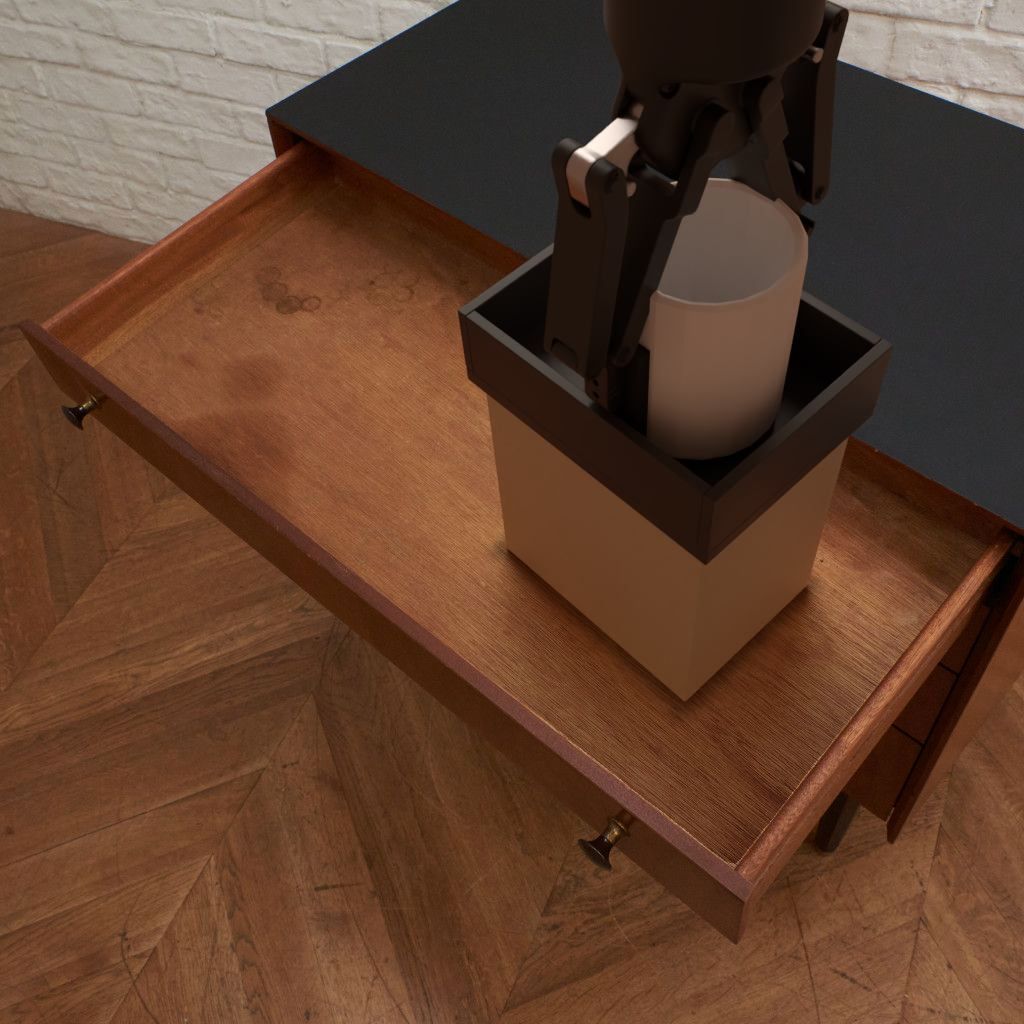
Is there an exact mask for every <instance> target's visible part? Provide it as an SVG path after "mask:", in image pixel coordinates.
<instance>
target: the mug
mask: <svg viewBox="0 0 1024 1024" xmlns="http://www.w3.org/2000/svg"><path fill="white" fill-rule="evenodd" d="M670 183H671V184H673V185H674V186H676V184H677V181H671V182H670ZM808 259H809V239H808V236H807V233H806V231H805V229H804V227H803V225H802V223H801V221H800V218H799V216H798V215H797V214H795V213H794V212H793V211H792V210H791V209H790V208H789V207H788V206H787V205H786V204H785V203H784V202H783V201H782V200H781V199H779V198H777V199H776V200H775V202H773V201H772V200H770V199H768V198H767V197H765V196H763V195H761V194H760V193H758V192H756V191H755V190H753V189H751V188H750V187H749V186H747V185H745V184H743V183H742V182H738V181H734V180H732V179H731V178H718V177H717V178H715V177H709V179H708V181H707V184H706V187H705V190H704V193H703V195H702V198H701V201H700V204H699V207H698V209H697V210H696V212H695V213H693V214H692V215H687V216H684V217H683V219H682V221H681V223H680V226H679V229H678V232H677V235H676V238H675V241H674V243H673V246H672V249H671V252H670V255H669V258H668V260H667V263H666V266H665V269H664V272H663V275H662V278H661V280H660V283H659V286H658V289H657V291H655V292H654V293H653V294H652V296H651V298H650V312H649V314H648V317H647V320H646V323H645V326H644V329H643V332H642V334H641V337H640V340H639V344H641V345H642V346H644V347H645V348H646V349H648V350H649V351H650V364H649V388H648V411H647V435H646V438H647V439H648V440H650V441H651V442H652V443H654V444H655V445H656V446H658V447H659V448H660V449H662V450H663V451H664V452H666V453H667V454H668V455H670V456H671V457H673V458H679V459H692V460H707V459H713V458H719V457H725V456H730V455H732V454H734V453H736V452H738V451H740V450H742V449H745V448H747V447H749V446H751V445H752V444H754V443H755V442H756V441H757V440H758V439H759V438H760V437H761V436H762V435H763V434H764V433H765V432H766V431H767V430H768V429H770V428H771V426H772V423H773V421H774V419H775V417H776V415H777V413H778V411H779V409H780V404H781V399H782V393H783V388H784V383H785V377H786V372H787V367H788V361H789V356H790V351H791V345H792V340H793V335H794V329H795V324H796V319H797V313H798V308H799V303H800V297H801V292H802V290H803V287H804V281H805V275H806V270H807V266H808Z"/></svg>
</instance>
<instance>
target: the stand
mask: <svg viewBox="0 0 1024 1024" xmlns="http://www.w3.org/2000/svg"><path fill="white" fill-rule="evenodd" d="M485 394H486V393H485ZM486 402H487V410H488V416H489V417H488V418H489V424H490V431H491V438H492V439H491V440H492V447H493V455H494V462H495V463H494V464H495V470H496V476H497V477H496V478H497V485H498V494H499V499H500V505H501V506H500V507H501V514H502V522H503V531H504V537H505V546H506V549H507V550H509V551H510V552H511V553H512V554H513V555H514V556H515V557H517V558H518V559H519V560H520V561H521V562H523V563H524V564H525V565H526V566H527V567H528V568H529V569H530V570H532V571H533V572H534V573H535V574H536V575H538V577H540V578H541V579H542V580H543V581H544V582H545V583H547V584H548V585H549V586H550V587H551V588H552V589H553V590H555V592H557V593H558V594H559V595H560V596H561V597H563V598H564V599H565V600H566V601H568V603H569V604H571V605H572V606H573V607H575V608H576V609H577V610H578V611H579V612H580V613H582V615H584V616H585V617H586V618H587V619H588V620H589V621H591V622H592V623H593V624H594V625H595V626H597V628H598V629H600V630H601V631H602V632H603V633H605V635H607V636H608V637H609V638H610V639H611V640H612V641H614V642H615V643H616V644H617V645H618V646H620V647H621V648H622V649H623V650H624V651H625V652H626V653H628V654H629V655H630V656H631V657H632V659H635V661H636V662H638V663H639V664H640V665H641V666H643V667H644V668H645V669H646V670H647V671H648V672H650V673H651V674H652V676H654V677H655V678H656V679H657V680H659V681H660V682H661V683H662V684H663V685H665V687H667V688H668V689H669V690H670V691H671V692H672V693H674V694H675V695H676V696H677V697H678V698H679V699H680V700H682V701H683V702H684V703H685V702H687V701H688V700H690V698H691V697H692V696H693V695H694V694H695V693H696V692H697V691H699V689H700V688H702V687H703V686H704V685H705V684H706V683H707V682H708V681H709V680H710V679H711V678H712V677H713V676H714V675H715V674H716V673H717V672H718V671H719V670H720V669H721V668H722V667H723V666H725V665H726V663H728V662H729V661H730V660H731V659H732V658H733V657H734V656H735V655H736V654H737V653H738V652H739V651H741V650H742V648H743V647H744V646H746V645H747V644H748V643H749V642H750V641H751V640H752V639H753V638H754V637H756V635H757V634H758V633H759V632H760V631H761V630H762V629H763V628H764V627H765V626H767V625H768V624H769V622H771V621H772V620H773V619H774V618H775V617H776V616H777V615H778V614H779V613H780V612H781V611H782V610H783V609H784V608H785V607H786V606H788V604H790V603H791V602H792V601H793V600H794V599H795V598H796V597H797V596H798V595H799V594H800V593H801V592H802V591H803V590H804V589H806V587H807V586H808V585H809V582H810V578H811V574H812V571H813V568H814V563H815V559H816V556H817V554H818V550H819V546H820V542H821V538H822V535H823V532H824V527H825V525H826V520H827V517H828V514H829V510H830V506H831V504H832V503H831V502H832V499H833V495H834V492H835V488H836V484H837V480H838V477H839V474H840V470H841V467H842V463H843V459H844V455H845V452H846V449H847V445H848V441H849V438H850V436H849V437H848V438H847V439H845V440H844V441H843V442H842V443H841V444H840V445H839V446H838V447H837V448H836V449H834V450H833V451H832V452H831V453H830V454H829V455H828V456H827V457H826V458H824V459H823V460H822V461H821V462H820V463H819V464H818V465H817V466H816V467H814V468H813V469H812V470H811V471H810V472H809V473H808V474H807V475H806V476H805V477H803V478H802V479H801V480H800V481H799V482H798V483H797V484H796V485H795V486H793V487H792V488H791V489H790V490H789V491H788V492H787V493H786V494H785V495H783V496H782V497H781V498H780V499H779V500H778V501H777V502H776V503H775V504H773V505H772V506H771V507H770V508H769V509H768V510H767V511H766V512H765V513H764V514H762V515H761V516H760V517H759V518H758V519H757V520H756V521H755V522H754V523H752V524H751V525H750V526H749V527H748V528H747V529H746V530H745V531H744V532H742V533H741V534H740V535H739V536H738V537H737V538H736V539H735V540H734V541H733V542H731V543H730V544H729V545H728V546H727V547H726V548H725V549H724V550H723V551H721V552H720V553H719V554H718V555H717V556H716V557H715V558H714V559H713V560H711V561H710V562H709V563H708V564H707V565H704V564H703V563H701V562H700V561H699V560H698V559H696V558H695V557H694V556H693V555H691V554H690V553H689V552H687V551H686V550H685V549H684V548H682V547H681V546H680V545H679V544H677V543H676V542H675V541H673V540H672V539H671V538H670V537H668V536H667V535H666V534H665V533H663V532H662V531H661V530H659V529H658V528H657V527H656V526H654V525H653V524H652V523H651V522H649V521H648V520H647V519H645V518H644V517H643V516H642V515H640V514H639V513H638V512H637V511H635V510H634V509H633V508H631V507H630V506H629V505H628V504H626V503H625V502H624V501H623V500H621V499H620V498H619V497H617V496H616V495H615V494H614V493H612V492H611V491H610V490H609V489H607V488H606V487H605V486H603V485H602V484H601V483H600V482H598V481H597V480H596V479H595V478H593V477H592V476H591V475H589V474H588V473H587V472H586V471H584V470H583V469H582V468H581V467H579V466H578V465H577V464H575V463H574V462H573V461H572V460H570V459H569V458H568V457H567V456H565V455H564V454H563V453H561V452H560V451H559V450H558V449H556V448H555V447H554V446H553V445H551V444H550V443H549V442H548V441H546V440H545V439H544V438H542V437H541V436H540V435H539V434H537V433H536V432H535V431H534V430H532V429H531V428H530V427H528V426H527V425H526V424H525V423H523V422H522V421H521V420H520V419H518V418H517V417H516V416H514V415H513V414H512V413H511V412H509V411H508V410H507V409H506V408H504V407H503V406H502V405H500V404H499V403H498V402H497V401H495V400H494V399H493V398H492V397H490V396H489V395H488V394H486Z"/></svg>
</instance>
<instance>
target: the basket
mask: <svg viewBox="0 0 1024 1024" xmlns="http://www.w3.org/2000/svg"><path fill="white" fill-rule="evenodd" d="M553 248H554V242H552V243H551V244H549V245H548V246H547V247H546V248H544V249H542V250H540V251H539V252H538V253H537V254H535V255H534V256H533V257H531V258H530V259H528V260H527V261H525V262H524V263H523V264H521V265H519V266H518V267H517V268H516V269H514V270H512V271H511V272H510V273H508V274H506V275H505V276H504V277H503V278H501V279H500V280H498V281H497V282H496V283H494V284H493V285H491V286H490V287H488V288H487V289H486V290H484V291H483V292H481V293H480V294H478V295H477V296H476V297H474V298H473V299H471V300H470V301H469V302H468V303H466V304H465V305H463V306H462V307H460V308H459V309H458V310H457V316H458V323H459V330H460V336H461V342H462V350H463V356H464V363H465V366H466V377H467V380H468V381H470V382H471V383H473V385H475V386H476V387H477V388H479V389H480V390H481V391H483V392H484V393H485V394H488V395H489V396H490V397H492V398H493V399H494V400H495V401H497V402H498V403H499V404H500V405H502V406H503V407H504V408H506V409H507V410H508V411H509V412H511V413H512V414H513V415H514V416H516V417H517V418H518V419H520V420H521V421H522V422H523V423H525V424H526V425H527V426H528V427H530V428H531V429H532V430H534V431H535V432H536V433H537V434H539V435H540V436H541V437H542V438H544V439H545V440H546V441H548V442H549V443H550V444H551V445H553V446H554V447H555V448H556V449H558V450H559V451H560V452H561V453H563V454H564V455H565V456H567V457H568V458H569V459H570V460H572V461H573V462H574V463H575V464H577V465H578V466H579V467H581V468H582V469H583V470H584V471H586V472H587V473H588V474H589V475H591V476H592V477H593V478H595V479H596V480H597V481H598V482H600V483H601V484H602V485H603V486H605V487H606V488H607V489H609V490H610V491H611V492H612V493H614V494H615V495H616V496H617V497H619V498H620V499H621V500H623V501H624V502H625V503H626V504H628V505H629V506H630V507H631V508H633V509H634V510H635V511H637V512H638V513H639V514H640V515H642V516H643V517H644V518H645V519H647V520H648V521H649V522H651V523H652V524H653V525H654V526H656V527H657V528H658V529H659V530H661V531H662V532H663V533H665V534H666V535H667V536H668V537H670V538H671V539H672V540H673V541H675V542H676V543H677V544H679V545H680V546H681V547H682V548H684V549H685V550H686V551H687V552H689V553H690V554H691V555H693V556H694V557H695V558H696V559H698V560H699V561H700V562H701V563H703V564H704V565H707V564H708V563H709V562H710V561H711V560H713V559H714V558H715V557H716V556H717V555H718V554H719V553H720V552H721V551H723V550H724V549H725V548H726V547H727V546H728V545H729V544H730V543H731V542H733V541H734V540H735V539H736V538H737V537H738V536H739V535H740V534H741V533H742V532H744V531H745V530H746V529H747V528H748V527H749V526H750V525H751V524H752V523H754V522H755V521H756V520H757V519H758V518H759V517H760V516H761V515H762V514H764V513H765V512H766V511H767V510H768V509H769V508H770V507H771V506H772V505H773V504H775V503H776V502H777V501H778V500H779V499H780V498H781V497H782V496H783V495H785V494H786V493H787V492H788V491H789V490H790V489H791V488H792V487H793V486H795V485H796V484H797V483H798V482H799V481H800V480H801V479H802V478H803V477H805V476H806V475H807V474H808V473H809V472H810V471H811V470H812V469H813V468H814V467H816V466H817V465H818V464H819V463H820V462H821V461H822V460H823V459H824V458H826V457H827V456H828V455H829V454H830V453H831V452H832V451H833V450H834V449H836V448H837V447H838V446H839V445H840V444H841V443H842V442H843V441H844V440H845V439H847V438H848V437H849V438H850V436H851V435H852V434H854V432H856V431H857V430H858V428H860V427H861V426H862V425H863V424H865V422H867V421H868V420H869V419H870V418H871V417H873V414H874V411H875V408H876V405H877V402H878V400H879V395H880V393H881V389H882V385H883V383H884V378H885V375H886V373H887V369H888V366H889V362H890V359H891V355H892V352H893V349H894V344H893V343H891V342H889V341H888V340H886V339H885V338H882V336H879V335H878V334H876V333H874V332H873V331H871V330H869V329H868V328H867V327H865V326H863V325H861V324H859V323H858V322H856V321H855V320H853V319H852V318H850V317H848V316H846V315H845V314H843V313H842V312H840V311H838V310H836V309H835V308H834V307H832V306H830V305H829V304H827V303H825V302H824V301H822V300H820V299H819V298H817V297H815V296H814V295H813V294H810V293H809V292H807V291H806V290H803V289H802V292H801V297H800V303H799V308H798V313H797V319H796V324H795V329H794V335H793V340H792V345H791V351H790V356H789V361H788V367H787V372H786V377H785V383H784V388H783V393H782V399H781V404H780V409H779V411H778V413H777V415H776V417H775V419H774V421H773V423H772V426H771V428H770V429H768V430H767V431H766V432H765V433H764V434H763V435H762V436H761V437H760V438H759V439H758V440H757V441H756V442H755V443H754V444H752V445H751V446H749V447H747V448H745V449H742V450H740V451H738V452H736V453H734V454H732V455H730V456H725V457H719V458H713V459H707V460H692V459H679V458H673V457H671V456H670V455H668V454H667V453H666V452H664V451H663V450H662V449H660V448H659V447H658V446H656V445H655V444H654V443H652V442H651V441H650V440H648V439H647V438H646V437H644V436H643V435H642V434H640V433H639V432H637V431H636V430H635V429H633V428H632V427H631V426H629V425H628V424H627V423H625V422H624V421H623V420H621V419H620V418H619V417H617V416H616V415H615V414H613V413H609V412H608V411H607V410H605V409H604V408H603V407H601V406H600V405H598V404H597V403H596V402H594V401H593V400H592V399H590V398H589V397H588V396H587V395H586V393H585V386H584V384H585V382H584V378H583V377H581V376H580V375H579V374H577V373H576V372H575V371H573V370H572V369H570V368H569V367H568V366H566V365H565V364H564V363H562V362H561V361H559V360H558V359H557V358H555V357H554V356H553V355H551V354H550V353H549V352H547V351H546V350H545V349H544V345H543V343H544V333H545V324H546V314H547V305H548V295H549V286H550V276H551V267H552V257H553ZM849 438H848V439H849Z"/></svg>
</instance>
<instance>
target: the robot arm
mask: <svg viewBox="0 0 1024 1024" xmlns="http://www.w3.org/2000/svg"><path fill="white" fill-rule="evenodd" d="M602 15H603V17H602V19H603V25H604V29H605V32H606V35H607V37H608V40H609V42H610V45H611V46H612V49H613V51H614V53H615V56H616V59H617V61H618V64H619V68H620V78H619V83H618V87H617V90H616V94H615V97H614V100H613V102H612V105H611V111H610V121H611V122H610V124H609V125H607V126H606V127H605V128H604V129H603V130H602V131H601V132H599V133H598V134H597V135H595V137H593V139H591V140H590V141H589V142H588V143H587V144H586V145H583V144H581V143H580V142H578V141H576V140H575V139H573V138H571V137H566V138H563V139H562V140H560V141H559V143H558V144H557V145H556V146H555V147H554V149H553V151H552V154H551V159H550V165H551V169H552V175H553V178H554V183H555V187H556V192H557V196H558V201H557V210H556V221H555V230H554V237H553V238H554V239H553V243H554V248H553V257H552V267H551V276H550V286H549V295H548V305H547V314H546V324H545V333H544V343H543V345H544V349H545V350H546V351H547V352H549V353H550V354H551V355H553V356H554V357H555V358H557V359H558V360H559V361H561V362H562V363H564V364H565V365H566V366H568V367H569V368H570V369H572V370H573V371H575V372H576V373H577V374H579V375H580V376H581V377H583V378H584V382H585V384H584V386H585V393H586V395H587V396H588V397H589V398H590V399H592V400H593V401H594V402H596V403H597V404H598V405H600V406H601V407H603V408H604V409H605V410H607V411H608V412H609V413H613V414H615V415H616V416H617V417H619V418H620V419H621V420H623V421H624V422H625V423H627V424H628V425H629V426H631V427H632V428H633V429H635V430H636V431H637V432H639V433H640V434H642V435H643V436H644V437H646V435H647V411H648V388H649V364H650V351H649V350H648V349H646V348H645V347H644V346H642V345H641V344H639V340H640V337H641V334H642V332H643V329H644V326H645V323H646V320H647V317H648V314H649V312H650V298H651V296H652V294H653V293H654V292H655V291H657V289H658V286H659V283H660V280H661V278H662V275H663V272H664V269H665V266H666V263H667V260H668V258H669V255H670V252H671V249H672V246H673V243H674V241H675V238H676V235H677V232H678V229H679V226H680V223H681V221H682V219H683V217H684V216H687V215H692V214H693V213H695V212H696V210H697V209H698V207H699V204H700V201H701V198H702V195H703V193H704V190H705V187H706V184H707V181H708V179H709V178H710V175H711V173H712V171H713V170H714V169H715V168H716V167H717V166H718V165H719V164H720V163H721V162H722V161H724V162H725V165H726V168H727V171H728V173H729V176H730V179H731V180H734V181H738V182H742V183H743V184H745V185H747V186H749V187H750V188H751V189H753V190H755V191H756V192H758V193H760V194H761V195H763V196H765V197H767V198H768V199H770V200H772V201H773V202H775V200H776V199H777V198H779V199H781V200H782V201H783V202H784V203H785V204H786V205H787V206H788V207H789V208H790V209H791V210H792V211H793V212H794V213H795V214H797V215H798V216H799V218H800V221H801V223H802V225H803V227H804V229H805V231H806V233H807V236H808V240H810V238H811V237H812V235H813V233H814V231H815V227H816V221H814V220H812V219H811V218H809V217H807V216H806V215H804V214H802V209H803V208H804V207H805V205H806V204H807V203H808V204H810V205H812V206H818V205H819V204H820V203H821V202H822V201H823V200H825V198H826V196H827V195H828V191H829V188H830V182H831V181H830V180H831V165H832V164H831V163H832V148H833V147H832V146H833V132H834V129H833V128H834V114H835V113H834V112H835V95H836V94H835V93H836V80H837V62H838V58H839V55H840V51H841V48H842V43H843V40H844V37H845V33H846V29H847V27H848V22H849V18H850V12H849V9H847V8H846V7H844V6H842V5H840V4H837V3H835V2H833V1H830V0H602ZM647 166H648V167H649V168H650V169H652V170H654V171H656V172H658V173H659V174H660V175H663V176H664V177H666V178H668V179H669V180H672V181H673V182H676V181H677V184H676V186H674V185H673V184H671V182H669V181H667V180H666V179H664V178H663V177H661V176H659V175H657V174H656V173H654V172H652V171H650V169H649V168H648V167H647Z"/></svg>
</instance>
